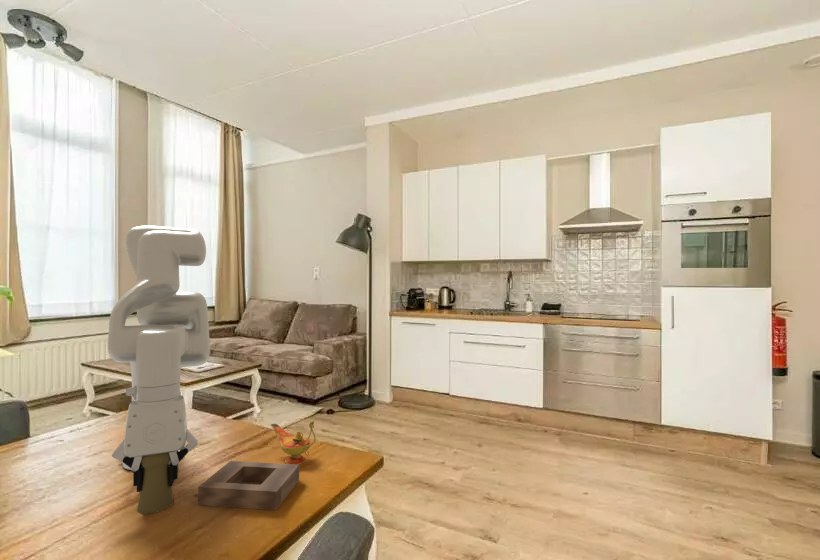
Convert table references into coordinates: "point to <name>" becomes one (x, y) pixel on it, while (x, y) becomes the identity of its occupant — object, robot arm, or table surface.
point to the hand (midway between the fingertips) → (156, 485)
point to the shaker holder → (249, 485)
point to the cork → (155, 484)
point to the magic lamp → (294, 444)
